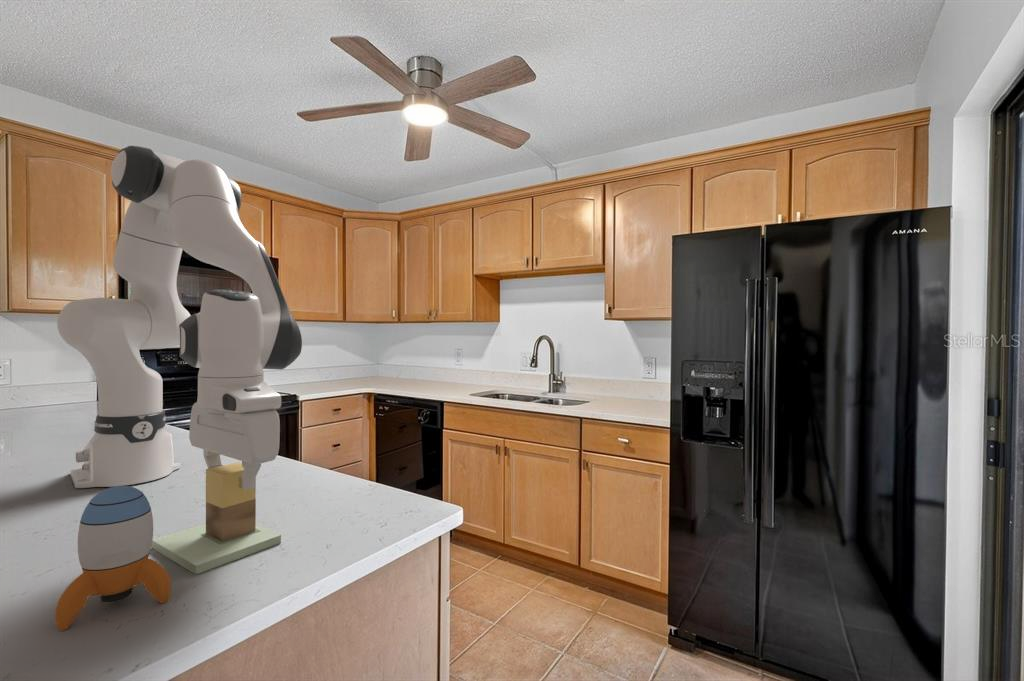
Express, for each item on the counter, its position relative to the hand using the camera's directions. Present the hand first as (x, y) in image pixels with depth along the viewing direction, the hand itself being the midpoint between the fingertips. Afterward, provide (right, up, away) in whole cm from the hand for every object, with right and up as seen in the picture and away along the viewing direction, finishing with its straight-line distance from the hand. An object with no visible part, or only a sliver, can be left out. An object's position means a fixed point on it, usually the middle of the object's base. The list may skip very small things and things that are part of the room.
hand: (231, 482), depth 75 cm
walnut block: (0, -8, 0) cm, 8 cm away
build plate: (-1, -9, -2) cm, 9 cm away
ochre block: (0, -3, 0) cm, 3 cm away
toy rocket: (-2, -10, -18) cm, 20 cm away
